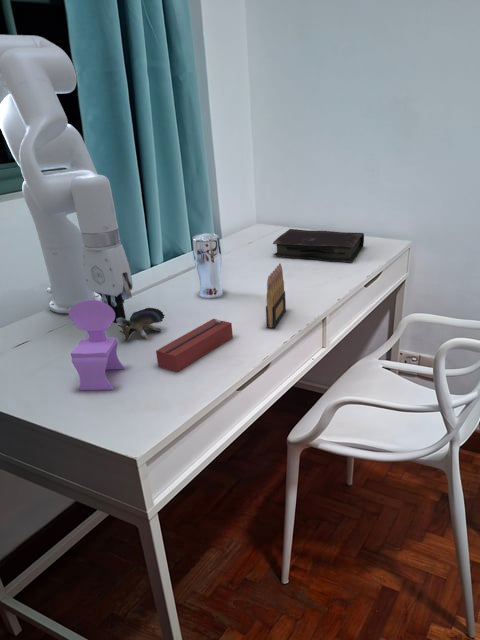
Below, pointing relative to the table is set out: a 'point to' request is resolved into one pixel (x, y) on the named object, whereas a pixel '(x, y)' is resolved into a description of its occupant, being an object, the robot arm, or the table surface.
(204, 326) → the pencil case
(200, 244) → the beer glass
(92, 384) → the toy chair
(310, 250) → the diary
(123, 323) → the eagle figurine
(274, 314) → the ammunition clip
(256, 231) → the table surface
